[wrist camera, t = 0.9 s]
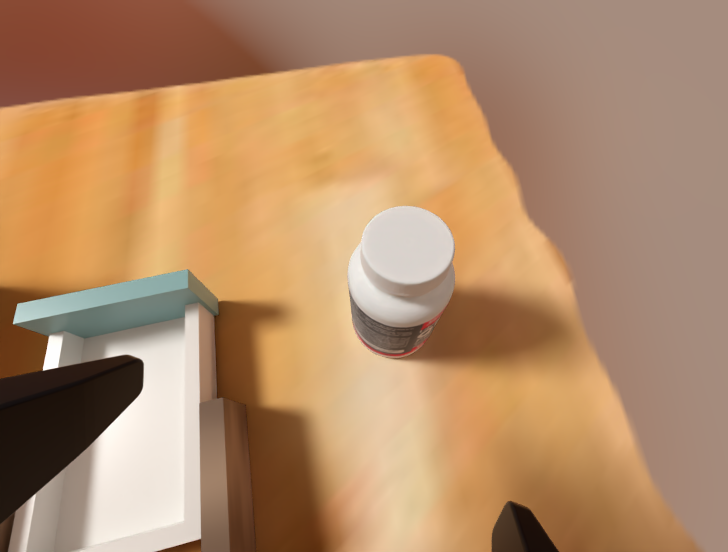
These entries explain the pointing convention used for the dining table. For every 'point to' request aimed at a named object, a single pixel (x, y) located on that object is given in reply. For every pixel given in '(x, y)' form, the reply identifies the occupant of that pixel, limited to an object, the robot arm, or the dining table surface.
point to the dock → (215, 481)
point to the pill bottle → (400, 280)
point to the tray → (128, 418)
